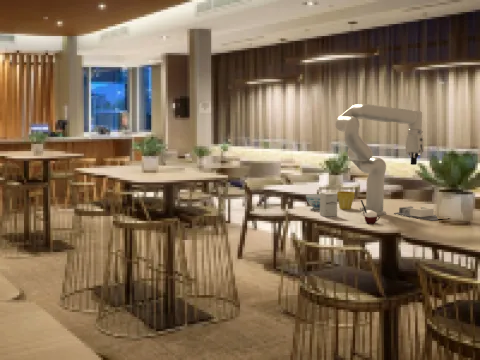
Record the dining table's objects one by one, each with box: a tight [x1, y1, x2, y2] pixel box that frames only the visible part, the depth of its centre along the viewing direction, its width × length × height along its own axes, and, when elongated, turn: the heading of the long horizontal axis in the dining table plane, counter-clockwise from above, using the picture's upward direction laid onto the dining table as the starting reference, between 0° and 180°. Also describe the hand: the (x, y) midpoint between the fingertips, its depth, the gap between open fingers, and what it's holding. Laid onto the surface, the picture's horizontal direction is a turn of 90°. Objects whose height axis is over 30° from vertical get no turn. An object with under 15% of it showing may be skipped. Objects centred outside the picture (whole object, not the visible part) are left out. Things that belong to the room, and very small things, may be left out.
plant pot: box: [336, 190, 355, 210], centre depth 359 cm, size 10×10×10 cm
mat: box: [393, 212, 439, 222], centre depth 331 cm, size 14×27×1 cm, turn 32°
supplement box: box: [319, 191, 338, 218], centre depth 332 cm, size 7×7×13 cm
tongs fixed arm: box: [398, 205, 414, 215], centre depth 335 cm, size 9×15×3 cm, turn 32°
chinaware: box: [305, 193, 320, 211], centre depth 358 cm, size 15×15×8 cm
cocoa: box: [360, 199, 381, 225], centre depth 308 cm, size 10×6×12 cm
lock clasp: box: [410, 206, 435, 217], centre depth 328 cm, size 10×8×4 cm
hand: (413, 164), depth 347 cm, fingers closed
